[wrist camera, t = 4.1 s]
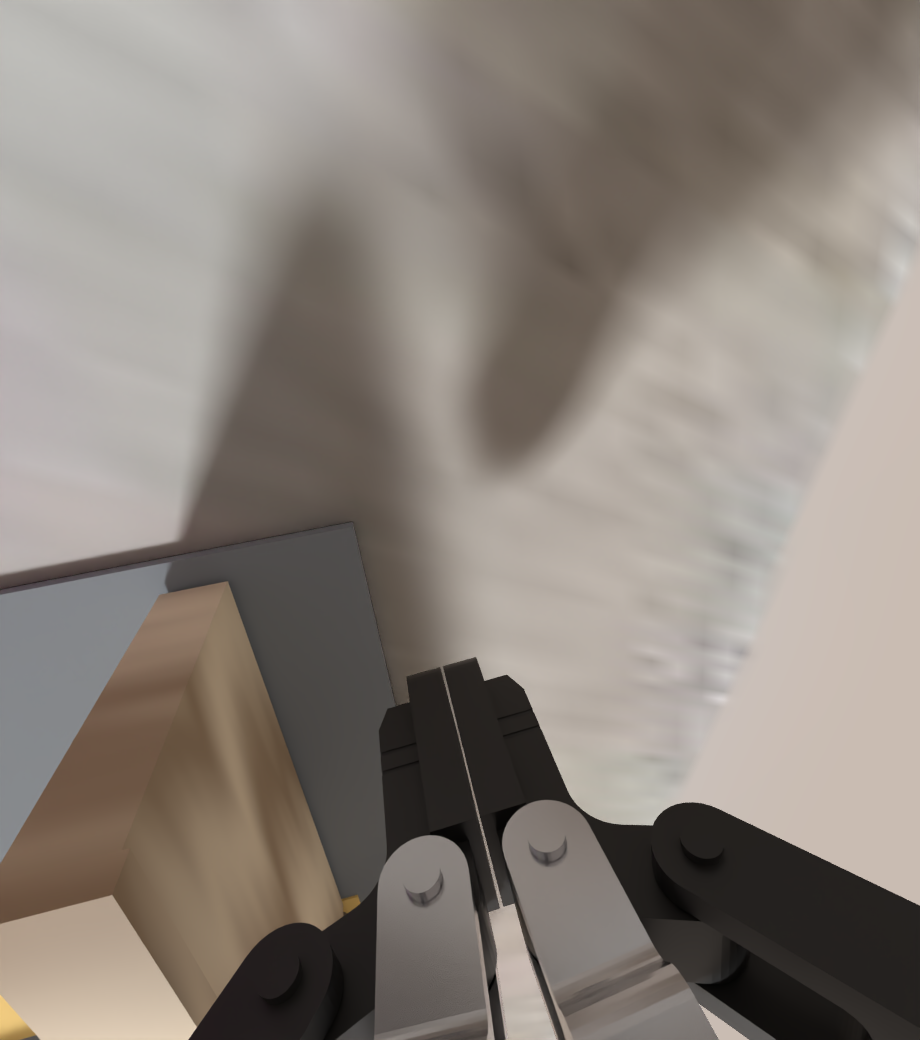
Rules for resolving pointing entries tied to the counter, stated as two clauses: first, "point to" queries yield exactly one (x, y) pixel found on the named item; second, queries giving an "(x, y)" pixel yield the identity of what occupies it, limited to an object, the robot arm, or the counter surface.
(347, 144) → the counter surface
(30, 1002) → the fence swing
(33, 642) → the mat
